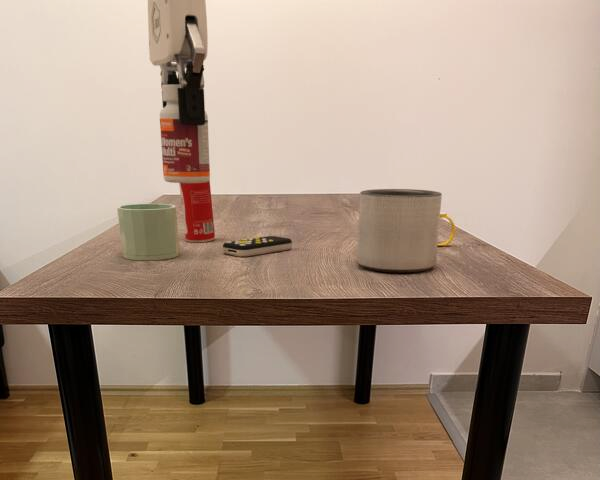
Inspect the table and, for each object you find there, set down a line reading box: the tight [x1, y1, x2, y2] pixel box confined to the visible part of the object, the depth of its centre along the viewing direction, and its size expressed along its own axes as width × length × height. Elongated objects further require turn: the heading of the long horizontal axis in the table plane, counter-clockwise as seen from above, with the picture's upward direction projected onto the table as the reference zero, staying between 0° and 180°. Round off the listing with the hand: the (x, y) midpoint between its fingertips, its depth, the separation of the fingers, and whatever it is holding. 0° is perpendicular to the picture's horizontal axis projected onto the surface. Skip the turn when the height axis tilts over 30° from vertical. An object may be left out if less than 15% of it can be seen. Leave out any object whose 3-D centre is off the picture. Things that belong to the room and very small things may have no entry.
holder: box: [116, 203, 180, 262], centre depth 108 cm, size 10×10×8 cm
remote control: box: [222, 235, 293, 258], centre depth 113 cm, size 6×13×2 cm, turn 136°
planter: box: [356, 188, 443, 274], centre depth 99 cm, size 12×12×11 cm
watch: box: [437, 211, 456, 247], centre depth 119 cm, size 6×3×6 cm, turn 86°
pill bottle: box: [159, 85, 211, 184], centre depth 83 cm, size 6×6×11 cm
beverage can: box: [178, 179, 216, 243], centre depth 121 cm, size 6×6×15 cm
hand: (184, 123), depth 82 cm, fingers closed on pill bottle, 6 cm apart
